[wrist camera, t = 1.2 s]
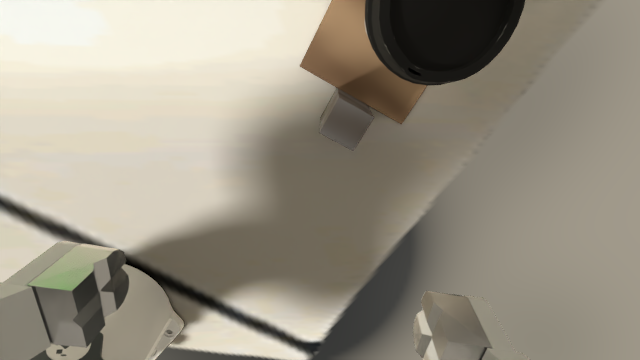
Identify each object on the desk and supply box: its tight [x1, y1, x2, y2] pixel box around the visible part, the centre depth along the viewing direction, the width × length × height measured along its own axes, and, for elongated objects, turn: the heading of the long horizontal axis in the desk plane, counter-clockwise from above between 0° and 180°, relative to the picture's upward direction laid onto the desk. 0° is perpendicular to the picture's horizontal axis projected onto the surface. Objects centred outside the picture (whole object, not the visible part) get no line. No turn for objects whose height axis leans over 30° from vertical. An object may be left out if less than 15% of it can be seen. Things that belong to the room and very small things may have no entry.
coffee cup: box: [365, 0, 525, 85], centre depth 23 cm, size 8×8×15 cm
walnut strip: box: [300, 0, 427, 151], centre depth 28 cm, size 20×12×6 cm, turn 151°
